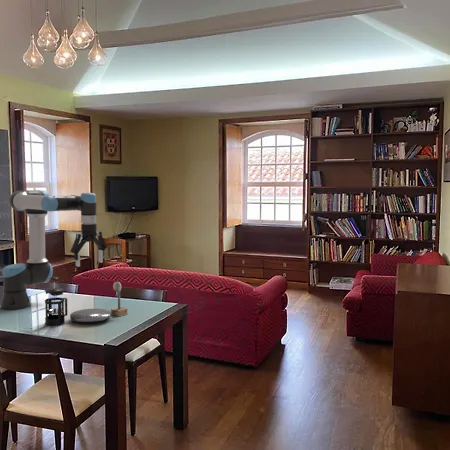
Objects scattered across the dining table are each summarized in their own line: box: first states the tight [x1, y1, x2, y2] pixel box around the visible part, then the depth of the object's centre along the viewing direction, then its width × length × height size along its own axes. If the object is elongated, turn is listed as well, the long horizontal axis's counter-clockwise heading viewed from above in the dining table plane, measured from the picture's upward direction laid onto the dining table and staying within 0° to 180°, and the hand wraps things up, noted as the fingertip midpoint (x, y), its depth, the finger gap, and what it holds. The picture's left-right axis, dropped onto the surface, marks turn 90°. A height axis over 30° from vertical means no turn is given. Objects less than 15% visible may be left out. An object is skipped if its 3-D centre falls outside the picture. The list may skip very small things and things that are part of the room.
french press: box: [44, 276, 68, 327], centre depth 231 cm, size 12×9×23 cm
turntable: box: [69, 308, 112, 323], centre depth 238 cm, size 20×20×2 cm
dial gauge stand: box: [110, 281, 128, 317], centre depth 248 cm, size 6×6×18 cm
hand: (89, 264), depth 243 cm, fingers open, 13 cm apart
